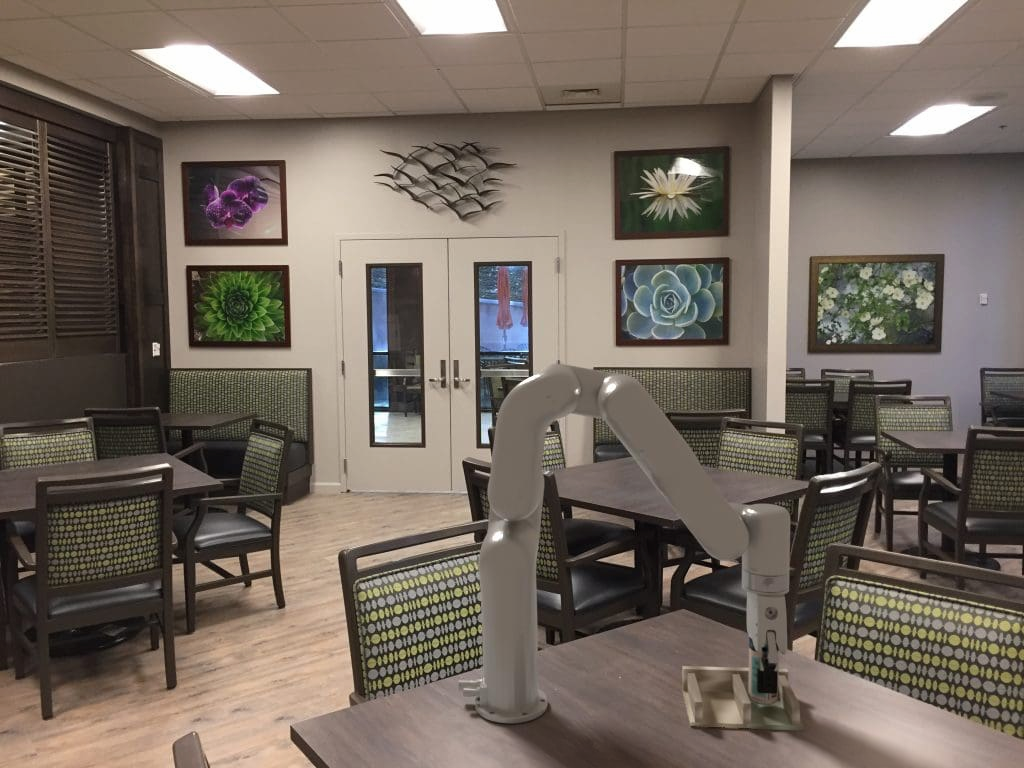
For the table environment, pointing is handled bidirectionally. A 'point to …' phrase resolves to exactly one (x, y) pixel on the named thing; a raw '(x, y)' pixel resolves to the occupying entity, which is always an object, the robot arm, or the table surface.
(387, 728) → the table surface
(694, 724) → the comb rack
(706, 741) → the table surface
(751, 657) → the beer can
